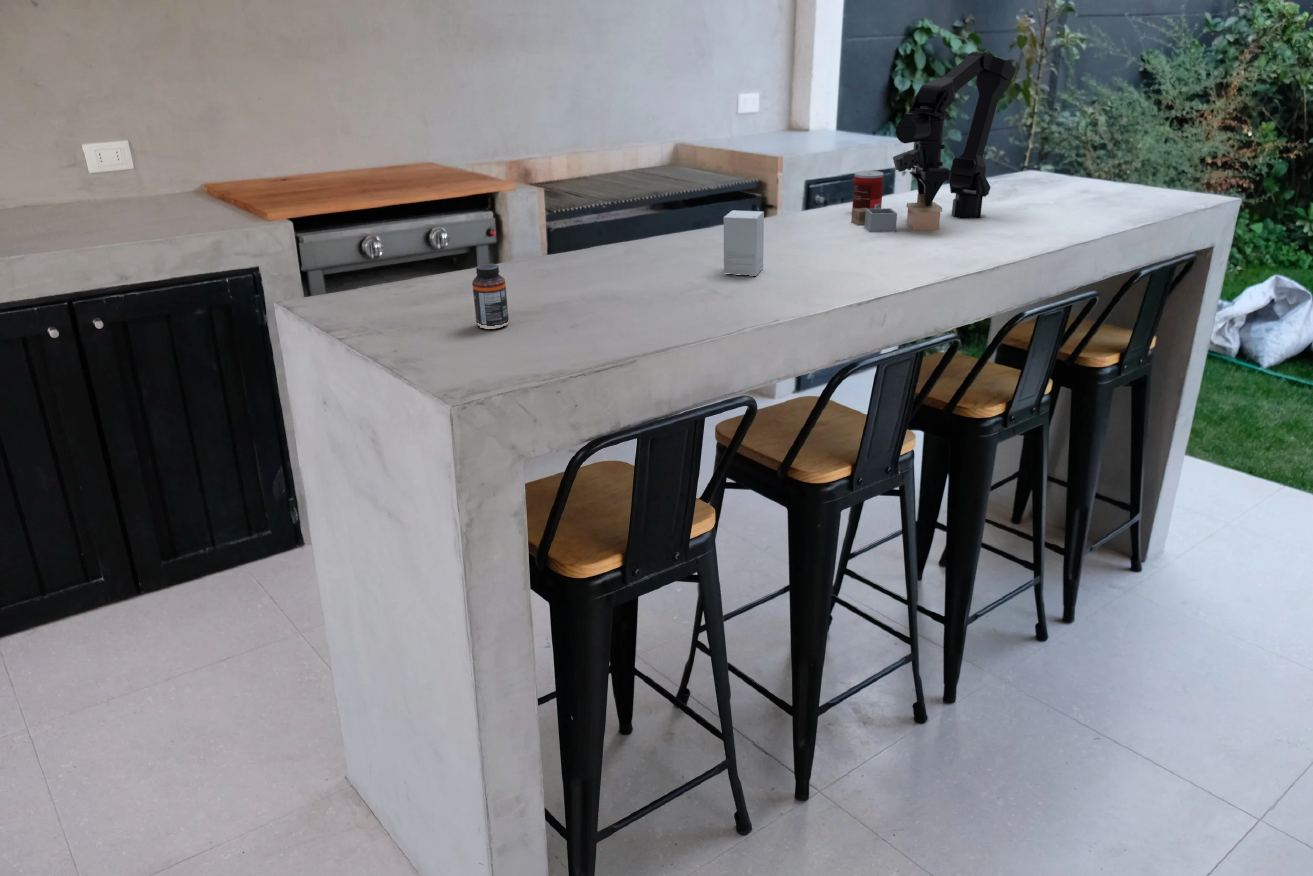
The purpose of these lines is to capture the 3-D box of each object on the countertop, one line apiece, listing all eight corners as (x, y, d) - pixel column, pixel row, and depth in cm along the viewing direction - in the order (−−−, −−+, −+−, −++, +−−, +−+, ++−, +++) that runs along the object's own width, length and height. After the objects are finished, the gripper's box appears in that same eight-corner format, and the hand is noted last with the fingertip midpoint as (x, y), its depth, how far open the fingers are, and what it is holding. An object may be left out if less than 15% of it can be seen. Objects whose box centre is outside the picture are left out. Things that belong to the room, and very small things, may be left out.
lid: (934, 206, 250) (935, 192, 249) (942, 211, 244) (943, 197, 242) (906, 206, 250) (907, 192, 249) (913, 212, 244) (915, 198, 242)
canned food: (879, 211, 269) (882, 170, 265) (882, 217, 262) (885, 175, 258) (850, 211, 270) (853, 170, 266) (853, 217, 263) (855, 175, 258)
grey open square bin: (889, 228, 251) (890, 208, 249) (895, 233, 245) (897, 213, 243) (864, 228, 251) (865, 208, 249) (869, 234, 245) (871, 214, 243)
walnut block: (865, 223, 256) (866, 207, 255) (872, 226, 253) (873, 210, 251) (851, 224, 255) (852, 208, 254) (858, 227, 252) (859, 211, 250)
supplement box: (764, 268, 217) (765, 210, 211) (755, 277, 210) (757, 217, 205) (731, 266, 219) (732, 209, 214) (722, 275, 212) (722, 216, 207)
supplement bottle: (477, 321, 185) (472, 262, 181) (509, 320, 186) (504, 261, 181) (475, 331, 180) (469, 270, 175) (508, 330, 180) (503, 269, 176)
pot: (931, 226, 252) (933, 206, 250) (938, 231, 246) (940, 211, 244) (906, 226, 252) (908, 207, 250) (912, 232, 246) (914, 212, 244)
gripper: (888, 134, 248) (883, 197, 255) (907, 145, 231) (901, 212, 238) (932, 133, 248) (926, 196, 255) (954, 144, 231) (947, 211, 238)
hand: (924, 203), depth 246 cm, fingers open, 5 cm apart
